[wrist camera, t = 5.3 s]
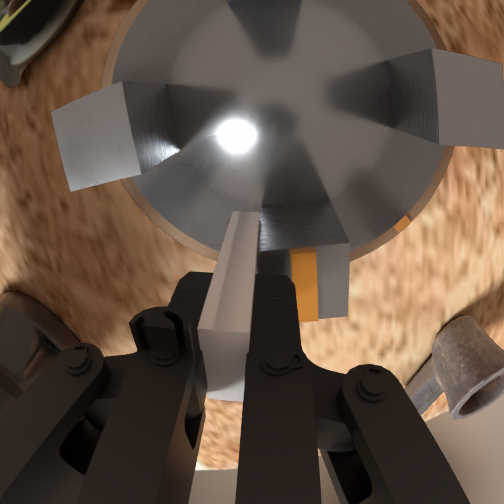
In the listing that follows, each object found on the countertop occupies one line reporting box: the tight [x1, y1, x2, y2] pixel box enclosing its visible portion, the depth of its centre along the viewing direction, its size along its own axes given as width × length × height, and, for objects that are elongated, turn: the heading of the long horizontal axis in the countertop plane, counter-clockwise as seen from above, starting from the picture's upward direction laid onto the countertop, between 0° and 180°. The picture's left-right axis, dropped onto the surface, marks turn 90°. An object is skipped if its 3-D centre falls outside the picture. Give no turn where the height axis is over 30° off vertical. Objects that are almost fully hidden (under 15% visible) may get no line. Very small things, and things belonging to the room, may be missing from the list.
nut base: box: [101, 0, 454, 261], centre depth 14 cm, size 20×20×2 cm
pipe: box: [404, 315, 504, 420], centre depth 20 cm, size 6×13×8 cm, turn 164°
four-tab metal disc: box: [51, 0, 504, 322], centre depth 10 cm, size 15×15×7 cm
